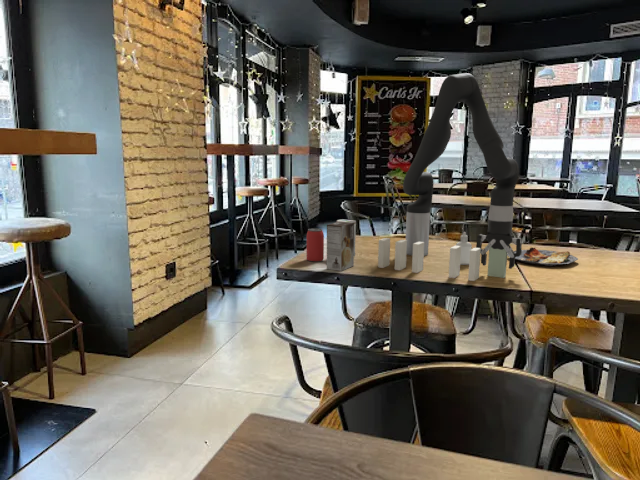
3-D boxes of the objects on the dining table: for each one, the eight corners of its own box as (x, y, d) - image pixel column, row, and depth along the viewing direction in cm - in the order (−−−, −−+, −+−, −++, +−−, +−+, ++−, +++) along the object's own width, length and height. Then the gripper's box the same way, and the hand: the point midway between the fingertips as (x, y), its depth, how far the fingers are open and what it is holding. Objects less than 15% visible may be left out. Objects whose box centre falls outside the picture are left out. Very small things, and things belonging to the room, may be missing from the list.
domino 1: (384, 264, 182) (385, 237, 180) (389, 265, 181) (390, 238, 179) (377, 267, 177) (378, 240, 175) (383, 267, 176) (383, 240, 174)
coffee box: (338, 264, 182) (339, 221, 179) (354, 266, 178) (354, 222, 175) (325, 269, 174) (326, 224, 171) (341, 271, 171) (342, 225, 168)
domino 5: (472, 276, 165) (474, 247, 163) (478, 277, 164) (480, 248, 162) (468, 280, 160) (469, 250, 158) (474, 281, 159) (476, 250, 157)
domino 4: (453, 274, 168) (455, 245, 166) (459, 274, 167) (461, 246, 165) (448, 277, 164) (450, 248, 162) (454, 278, 162) (456, 248, 161)
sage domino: (487, 275, 166) (489, 246, 164) (488, 274, 168) (490, 245, 166) (504, 277, 163) (506, 248, 162) (505, 276, 165) (507, 247, 163)
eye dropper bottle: (468, 265, 180) (470, 233, 178) (453, 263, 183) (455, 232, 181) (471, 263, 184) (473, 232, 182) (457, 261, 187) (458, 230, 185)
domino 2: (400, 266, 178) (401, 239, 177) (405, 267, 177) (406, 240, 176) (394, 269, 174) (395, 241, 172) (399, 270, 173) (400, 242, 171)
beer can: (321, 262, 184) (322, 231, 182) (304, 261, 185) (304, 230, 183) (325, 258, 190) (325, 228, 188) (308, 258, 192) (308, 227, 189)
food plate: (525, 251, 207) (526, 243, 206) (585, 260, 190) (586, 252, 190) (498, 261, 190) (498, 253, 189) (561, 273, 173) (562, 263, 173)
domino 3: (417, 268, 175) (418, 241, 173) (423, 269, 174) (424, 242, 172) (411, 272, 170) (413, 243, 169) (417, 272, 169) (418, 244, 168)
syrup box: (335, 256, 195) (335, 220, 192) (344, 254, 199) (344, 218, 197) (346, 258, 191) (347, 221, 189) (355, 256, 196) (356, 220, 193)
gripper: (525, 219, 161) (521, 267, 164) (481, 216, 169) (478, 262, 172) (521, 221, 155) (517, 271, 158) (475, 218, 163) (472, 266, 166)
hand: (497, 266), depth 165 cm, fingers open, 8 cm apart
